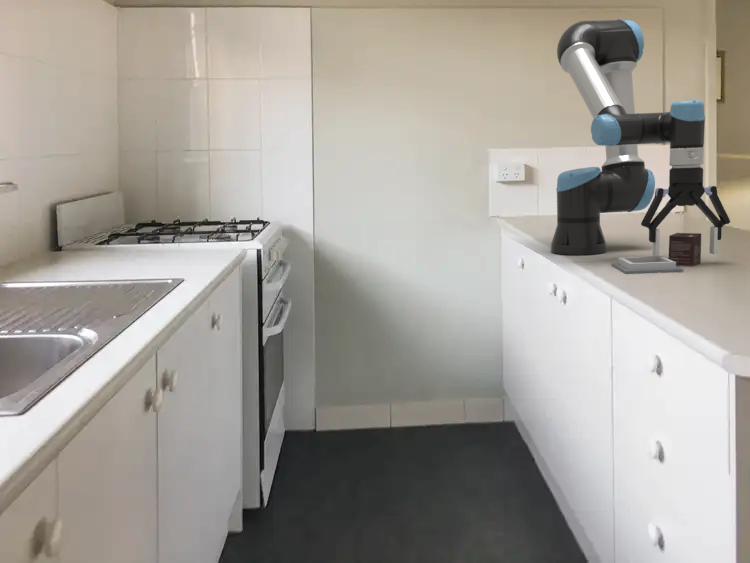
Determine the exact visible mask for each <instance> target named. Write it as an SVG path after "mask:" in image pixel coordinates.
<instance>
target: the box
mask: <svg viewBox="0 0 750 563" xmlns="http://www.w3.org/2000/svg"><path fill="white" fill-rule="evenodd" d="M668 237H669V238H668V239H669V240H668V259H670V260H672V261H674V262H676V266H680V265H686V266H685V267H694V266H696V265H698V264H700V263H701V258H702V257H701V255H702V233H696V232H694V233H692V232H688V233H687V232H676V233H673V234H670V235H669V236H668Z"/></svg>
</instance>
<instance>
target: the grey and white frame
mask: <svg viewBox="0 0 750 563" xmlns="http://www.w3.org/2000/svg"><path fill="white" fill-rule="evenodd" d="M611 267H613V268H615V269H617V270H619V271H620V272H622V273H623V274H626V275H627V274H634V275H635V274H655V273H656V274H658V272H662V273H681V272H680V271H683V272H684V268H682V267H679V266H678V265H676V262H674V261H672V260H670V259H669V258H667V257H665V256H662V255H659V256H654V255H652V256H626V257H617V262H611Z"/></svg>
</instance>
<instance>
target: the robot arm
mask: <svg viewBox="0 0 750 563" xmlns="http://www.w3.org/2000/svg"><path fill="white" fill-rule="evenodd" d="M556 47H557V48H556V55H557V56H556V57H557V60H558V63H559V65H560V66H561V68H562V70H563V71H564V72H566V73H567V74H569V76H570V78H571V79H572V81H573V83H574V84H575V88H576V89H577V91H578V92H579V94H580V96H581V97H582V100H583V102H584V103H585V105H586V107H587V109H588V112H590V115H591V117H592V118H593V119H592V122H591V126H590V134H591V140H592V142H593V143H594V144H595V145H598V146H605V156H606V157H605V158H606V160H605V162H603V164H602V165H601V168H600V167H599V166H589V167H581V168H576V169H575V168H574V169H569V170H565V171H563V172H561V173H560V174H559V175H558V176H557V181H556V189H555V190H556V206H557V207H556V208H557V209H556V211H557V212H556V217H557V218H556V219H557V221H556V222H557V223H556V224H557V225H556V228H555V230H554V235H553V238H552V241H551V245H550V252H551V253H552V254H559V255H569V256H571V255H575V256H576V255H578V256H581V255H583V256H584V255H597V254H603V253H605V252H607V242H606V238H605V234H604V233H603V230H602V227H601V214H605V213H607V214H608V213H631V212H637V211H642V210H645V209H646V208H648V209H647V211H646V213H645V215H644V217H643V218H642V221H641V224H640V225H641V226H642V227H644V228H647V229H648V240H649V242H650V243H652V256H660V229H659V228H658V227H659V226H660V224H661V223H662V222H663V221H664V220H665V219H666V218H667V216H668V215H669V214H670V213H671V212H672V210H673V209H674V208H676V207H685V206H689V207H690V206H691V207H692V206H693V207H694V206H696V208H698V209H699V210H700V211H701V212H702V214H704V216H705V217H706V218H707V219H708V220H709V221H710V223H712V225H713V226H712V225H711V226H710V228H709V254H711V255H718V241H721V240H722V229H723V227H724V226H725V225H730V224H731V220H730V216H728V213H727V211H726V209H725V207H724V205H723V204H722V201H721V200H720V197H719V195H718V189H717V188H718V187H717V186H716V185H709V186H706V187H704V168H703V167H701V166H703V164H704V157H705V156H704V145H705V122H706V121H705V120H706V115H705V103H704V102H703V100H700V99H698V100H697V99H695V100H680V101H674V102H672V103H671V105H670V110H669V111H666V112H665V111H663V112H647V113H645V112H643V113H636V110H635V98H634V87H633V85H634V84H633V72H634V70H635V69H636V67H637V66H638V63H637V62H639V61H640V60H641V58H642V57H643V54H644V51H643V50H644V49H645V39H644V33H643V31H642V29H641V27H640V25H639V24H637V22H635V21H633V20H631V19H630V20H629V19H627V20H625V19H615V20H614V19H610V20H609V19H608V20H607V19H606V20H581V21H578V22H575V23H573V24H572V25H570V26H569V27H567V28H566V30H565V31H564V32H563V33H562V34H561V36H560V38H559V41H558V43H557V46H556ZM646 144H647V145H648V144H649V145H650V144H653V145H654V144H656V145H658V144H661V145H663V144H669V166H670V167H671V168H670V169H669V176H668V178H669V179H668V180H669V181H668V182H669V183H668V184H669V185H668V188H662V187H657V188H656V180H655V175H654V172H653V171H652V170H651V169H648V168H646V166H645V161H644V160H643V158H640V156H639V149H638V145H646ZM704 194H706V196H708V197H709V199H710V202H711V205H712V206H713V208H714V210H715V212H716V214H717V215H716V214H715V213H714V212H713V211H712V209H711V208H710V207H709V206H708V205H707V204H706V202H705V201H704V200H703V199H702V197H703V195H704ZM666 195H668V197H669V198H670V199H669V200H668V201H667V202H666V203H665V205H664V207H663V208H662V209H661V210H660V212H658V214H657V215H656V213H657V210H658V209H659V206H660V205H661V203H662V201H663V198H665V197H666ZM648 206H649V207H648ZM655 215H656V216H655ZM654 216H655V217H654Z"/></svg>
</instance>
